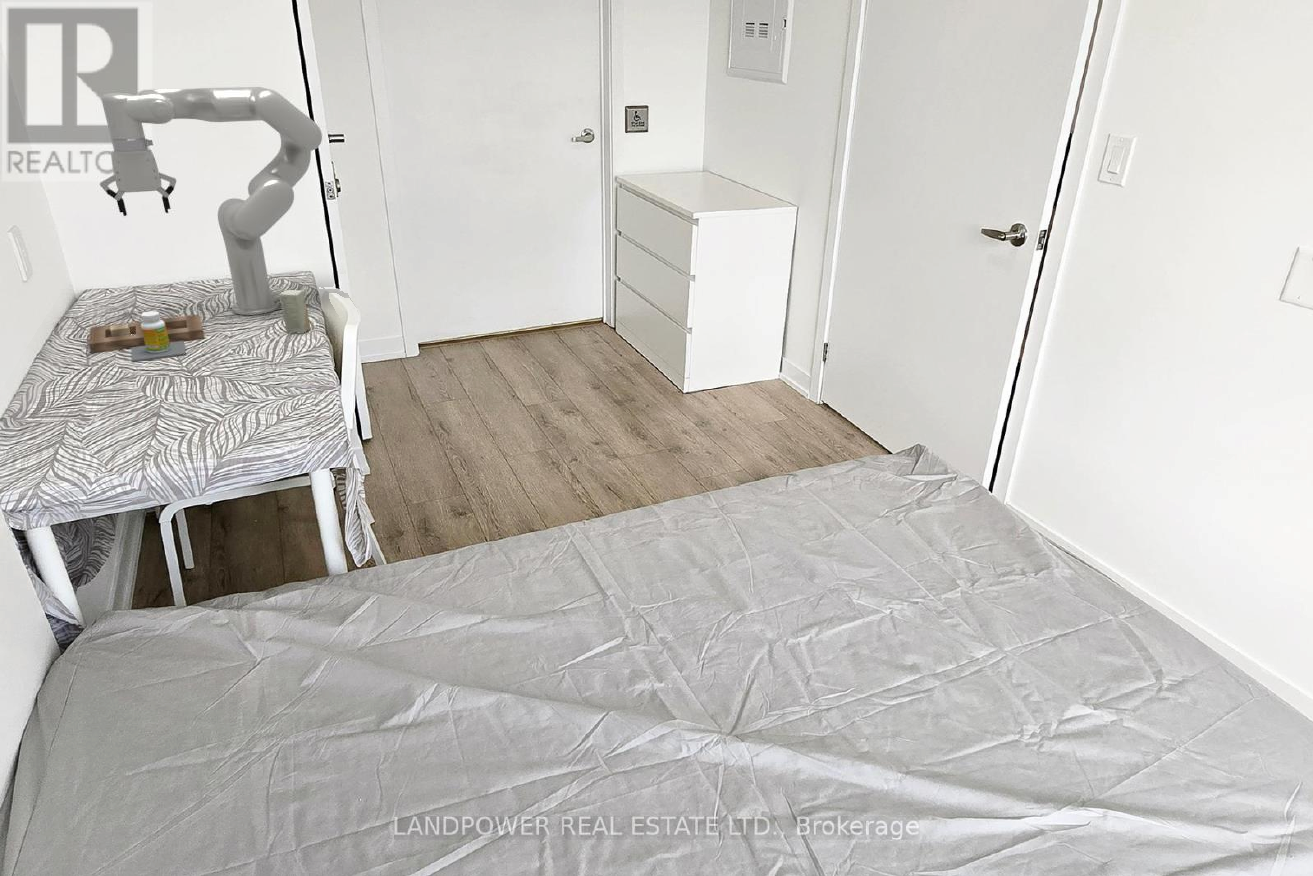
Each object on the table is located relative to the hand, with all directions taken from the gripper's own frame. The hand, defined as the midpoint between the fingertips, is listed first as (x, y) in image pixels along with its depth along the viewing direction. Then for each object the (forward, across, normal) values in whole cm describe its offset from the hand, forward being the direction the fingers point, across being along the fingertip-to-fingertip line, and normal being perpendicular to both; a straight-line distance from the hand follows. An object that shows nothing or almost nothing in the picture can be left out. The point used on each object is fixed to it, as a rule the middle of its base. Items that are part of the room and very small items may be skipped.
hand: (146, 213), depth 224 cm
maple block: (+30, +12, +10) cm, 34 cm away
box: (+31, -30, +21) cm, 48 cm away
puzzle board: (+30, +6, +10) cm, 32 cm away
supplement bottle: (+30, +4, +23) cm, 38 cm away
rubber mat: (+30, +4, +23) cm, 38 cm away
